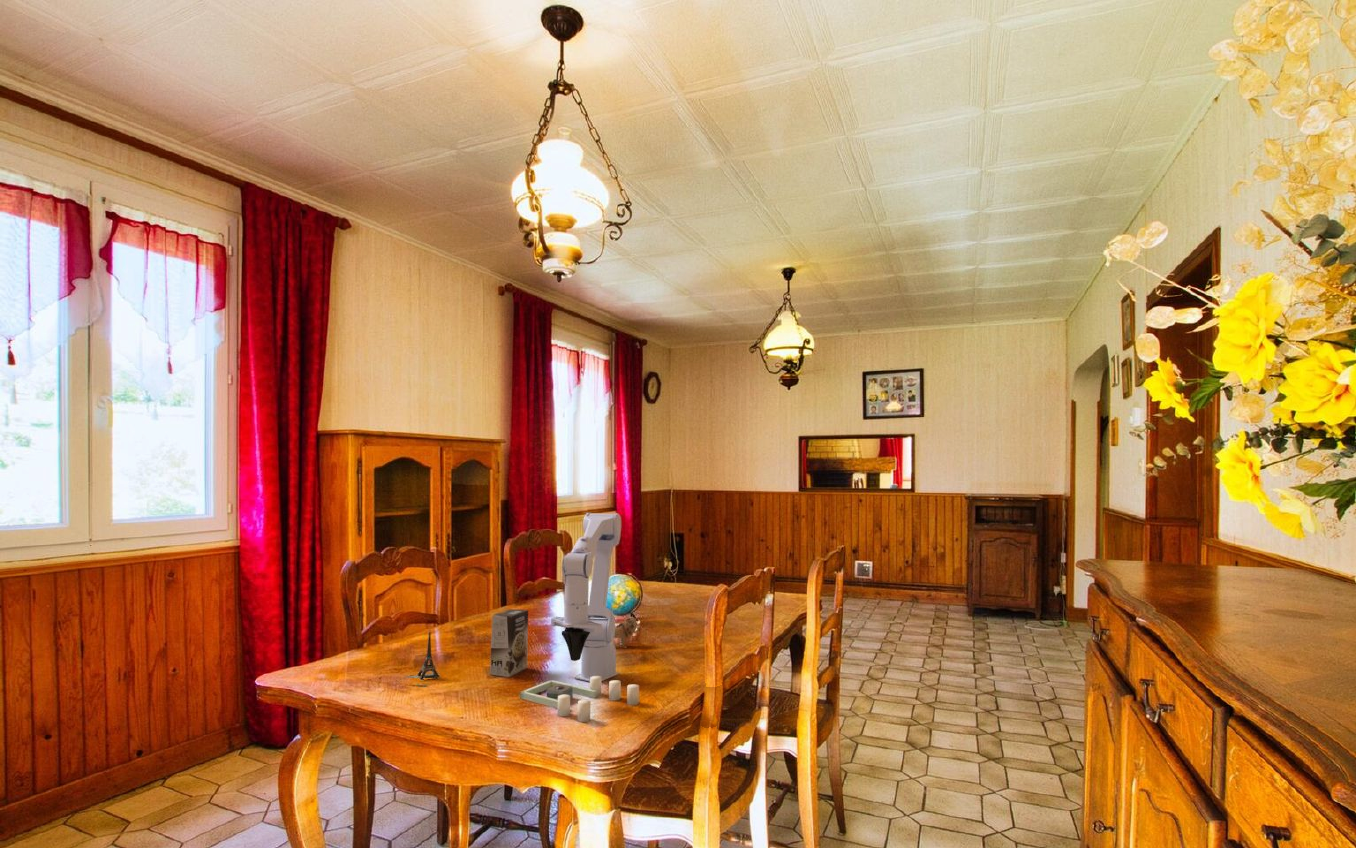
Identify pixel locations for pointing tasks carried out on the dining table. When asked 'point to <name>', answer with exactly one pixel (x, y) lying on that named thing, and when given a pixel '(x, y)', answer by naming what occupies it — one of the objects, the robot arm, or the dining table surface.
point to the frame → (532, 696)
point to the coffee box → (509, 642)
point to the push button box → (559, 691)
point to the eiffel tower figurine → (427, 666)
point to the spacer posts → (596, 685)
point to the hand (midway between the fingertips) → (575, 659)
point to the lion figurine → (625, 630)
